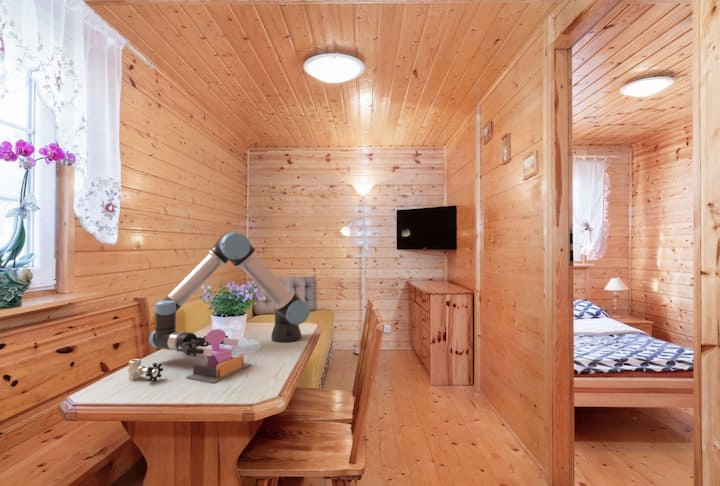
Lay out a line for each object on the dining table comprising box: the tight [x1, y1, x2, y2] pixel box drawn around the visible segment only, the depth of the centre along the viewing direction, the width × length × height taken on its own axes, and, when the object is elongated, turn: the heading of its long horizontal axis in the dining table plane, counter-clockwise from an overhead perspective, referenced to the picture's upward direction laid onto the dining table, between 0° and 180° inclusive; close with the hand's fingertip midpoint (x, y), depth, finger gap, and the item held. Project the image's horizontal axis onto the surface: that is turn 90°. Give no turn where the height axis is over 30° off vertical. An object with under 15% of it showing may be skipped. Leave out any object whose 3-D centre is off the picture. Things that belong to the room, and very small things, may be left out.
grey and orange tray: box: [185, 354, 252, 384], centre depth 139 cm, size 20×13×5 cm, turn 158°
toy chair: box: [205, 328, 233, 368], centre depth 139 cm, size 8×9×15 cm
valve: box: [127, 358, 164, 383], centre depth 132 cm, size 7×7×12 cm
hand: (225, 347), depth 138 cm, fingers open, 13 cm apart
